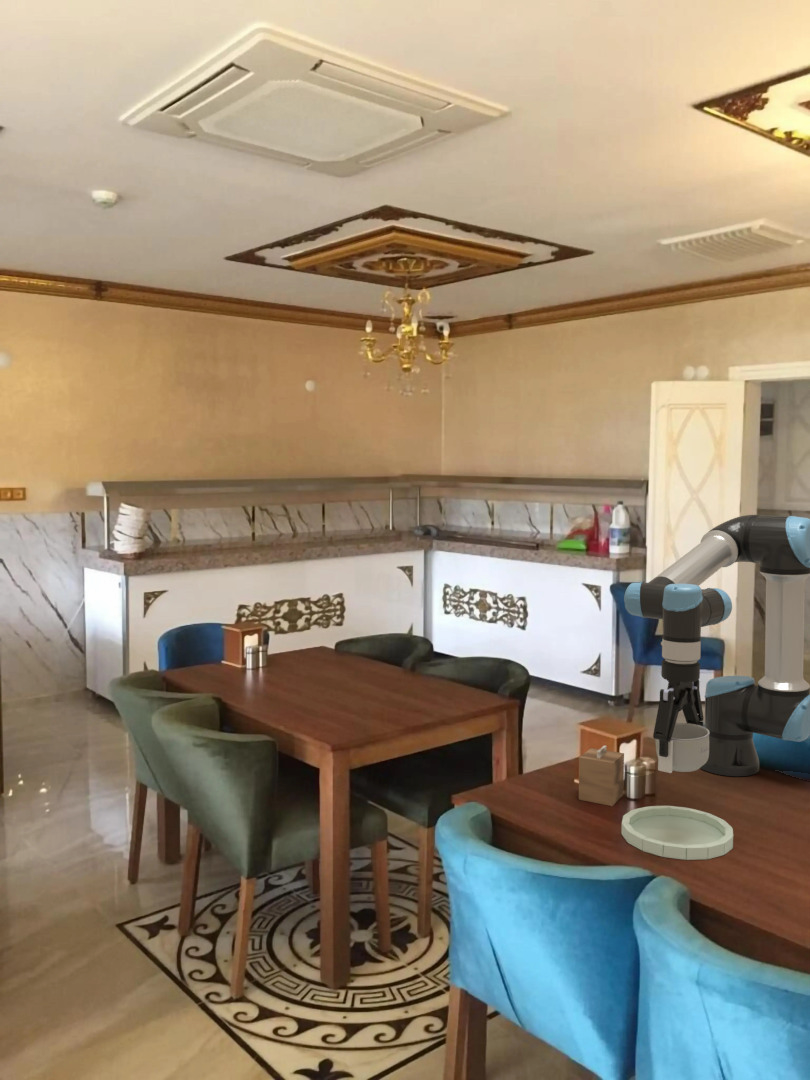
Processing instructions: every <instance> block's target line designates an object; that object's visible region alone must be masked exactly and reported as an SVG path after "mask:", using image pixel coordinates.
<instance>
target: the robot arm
mask: <svg viewBox="0 0 810 1080" xmlns="http://www.w3.org/2000/svg"><path fill="white" fill-rule="evenodd" d="M743 562H745V563H753V564H759V573H760V575H762V576H763V577H764V578H765V627H764V628H765V635H764V637H765V639H764V643H765V644H764V646H765V647H764V650H765V651H764V676H763V677H762V678H760V679H759V680H758V681H757V685H756V680H755V678H754V677H752V676H747V675H723V676H718V677H713V678H711V679H709V680H708V681H707V682H706V686H705V692H704V694H705V695H704V711H703V706H702V700H701V699H702V698H701V693H700V691H701V690H700V680H699V679H700V675H701V663H700V662H699V660H701V655H702V654H701V653H702V652H701V634H702V628H703V627H707V626H712V625H713V626H714V625H718V624H720V623H721V622H724V621H726V620H727V619H728V618H729V617H730V616H731V613H732V611H733V603H732V599H731V597H730V596H729V594H728V593H727V592H726V591H725V590H723V589H721V588H716V587H715V588H714V587H707V588H704V589H702V588H701V586H700V585H702V584H703V583H704V582H706V581H707V580H708V579H709V578H710V577H711V576H713V575H714V574H716V572H718V571H719V570H720V569H722V568H728V567H731V566H732V565H733V564H734V563H743ZM809 577H810V518H808V517H802V516H795V515H762V514H761V515H760V514H745V515H741V516H737V517H733V518H731V519H729V520H727V521H724V522H722V523H720V524H718V525H717V526H714V527H713V528H712V529H709V531H707V532H705V534H704V535H702V537H701V540H700V543H698V544H697V545H695V547H693V548H692V549H691V550H689V551H688V552H686V553H685V554H684V555H683V556H682V557H680V558H679V559H677V560H676V561H675V562H673V563H672V564H671V565H670V566H668V567H667V568H666V569H664V570H663V571H662V572H661V573H659V574H658V575H657V576H655V577H654V578H653V579H651V580H650V581H648V582H647V583H646V582H643V581H641V582H632V583H630V584H629V585H628V586H627V588H626V589H625V593H624V596H623V602H624V608H625V610H626V611H627V613H628V614H630V615H632V616H636V617H641V618H642V619H644V618H645V619H647V618H648V619H656V620H662V636H661V637H662V641H661V642H660V645H661V657H662V658H663V659H662V660H661V673H660V674H661V677H662V679H664V680H666V681H667V682H668V684H667V688H666V689H663V688H661V689H660V691H659V702H658V708H657V713H656V719H655V723H654V729H653V733H652V738H653V739H654V740H655V739H659V751H658V757H657V760H658V761H657V770H658V771H660V772H664V773H669V774H672V773H673V770H672V764H673V741H672V740H671V737H672V734H673V730H674V727H675V723H677V719H678V717H679V712H681V711H682V713H683V716H684V719H685V721H686V722H685V723H689V724H696V725H700V726H703V727H705V728H707V729H708V730H709V731H710V734H709V757H708V760H707V762H706V763H705V764H704V765H703V766H701V767H700V768H699V769H700V770H703V771H705V772H708V773H712V774H713V775H720V776H728V777H747V776H752V775H756V774H758V773H759V771H760V758H759V756H758V753H757V748H756V746H755V743H754V739H753V737H754V736H753V735H754V734H757V735H762V736H767V737H770V738H771V737H772V738H776V739H780V740H783V741H789V742H790V741H791V742H796V743H797V742H798V743H800V742H801V743H802V742H803V741H806V740H807V739H808V738H809V737H810V684H809V682H807V681H806V680H805V679H804V652H805V651H804V650H805V649H804V647H805V646H804V644H805V643H804V641H805V640H804V639H805V597H806V595H805V594H806V593H805V592H806V580H807V579H808V578H809Z"/></svg>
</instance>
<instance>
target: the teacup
mask: <svg viewBox="0 0 810 1080" xmlns="http://www.w3.org/2000/svg"><path fill="white" fill-rule="evenodd" d="M709 734H710V731H709V730H708V729H707V728H705V726H704V725H703V726H700V725H696V724H689V723H687V722H676V723H675V727H674V730H673V734H672V737H671V740H672V741H673V764H672V772H673V771H675V772H678V773H679V772H680V773H682V772H683V773H688V772H690V773H691V772H695V771H698V770H699V769H701V768H700V767H701V766H703V765H704V764H705V763H706V762H707V760H708V757H709ZM654 741H655V752H656V756H657V758H658V751H659V739H654Z"/></svg>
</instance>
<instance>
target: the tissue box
mask: <svg viewBox="0 0 810 1080" xmlns="http://www.w3.org/2000/svg"><path fill="white" fill-rule="evenodd" d="M607 749H608V748H607V745H602V747H600V748H595V747H594V748H593V747H590V748H589V749H588V750H587V751H585V752H584V753H582V754H581V755H580V756H579V757H578V800H580V801H584V802H590V803H594V804H600V805H604V806H611V807H614V805H615V804H616V803H617V802H619V800H620V799H621V798H622V797H623V796H624V784H625V783H624V777H625V776H624V775H625V774H624V773H625V753H624V752H617V751H613V750H607Z"/></svg>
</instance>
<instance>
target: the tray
mask: <svg viewBox="0 0 810 1080" xmlns="http://www.w3.org/2000/svg"><path fill="white" fill-rule="evenodd" d="M620 832H621V835H622V837H623V838H624V840H625V841H626V842H627V843H628V844H629V845H631V846H633V847H635V848H636V849H638V850H640V851H642V852H644V853H648V854H650V855H655V856H659V857H662V858H666V859H667V858H669V859H675V860H682V861H690V860H691V861H694V860H695V861H697V860H711V859H713V858H717V857H721V856H724V855H727V854H728V853H729V852H730V851H731V850H732V849H734V829H733V827H732V826H731V825H730V824H729V823H728V822H727V821H726V820H725V819H722V818H720V817H718V816H716V815H714V814H712V813H711V812H710V813H709V812H706V811H702V810H699V809H695V808H690V807H684V806H674V805H650V806H643V807H639V808H634V809H631V810H630V811H629V812H626V813H625V814H624V815H622V820H621V831H620Z"/></svg>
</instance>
